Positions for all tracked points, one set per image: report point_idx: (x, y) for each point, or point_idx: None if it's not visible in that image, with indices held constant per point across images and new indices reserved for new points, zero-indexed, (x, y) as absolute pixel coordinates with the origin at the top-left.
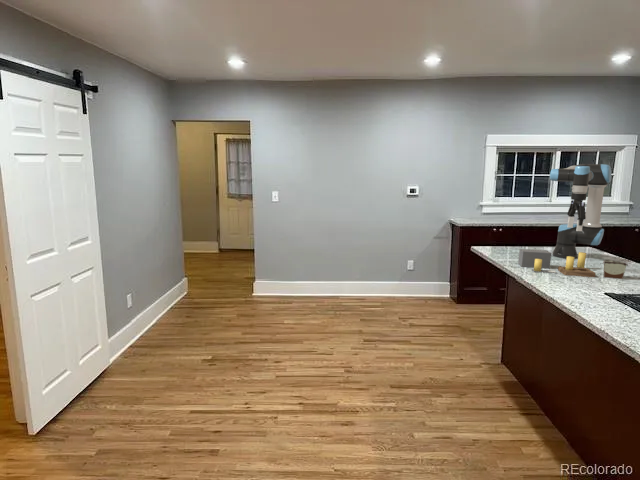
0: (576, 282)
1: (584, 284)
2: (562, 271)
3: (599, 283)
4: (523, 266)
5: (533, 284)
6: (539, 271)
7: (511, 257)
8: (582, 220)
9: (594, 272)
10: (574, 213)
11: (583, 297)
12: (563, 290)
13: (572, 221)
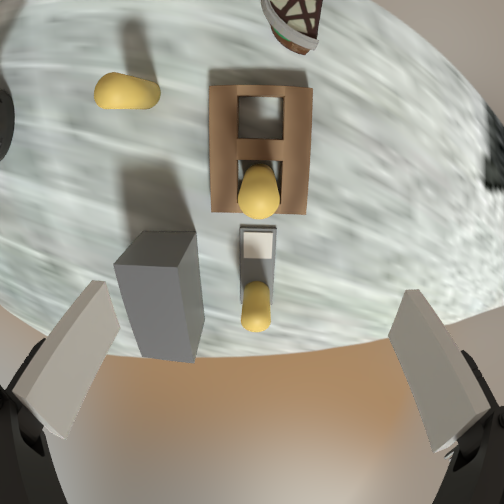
0: (399, 209)
1: (420, 194)
2: None
3: (403, 128)
4: (203, 316)
5: None
6: (269, 288)
7: None
8: (493, 409)
9: (301, 87)
10: (22, 468)
11: (496, 256)
12: (458, 281)
13: (67, 350)
